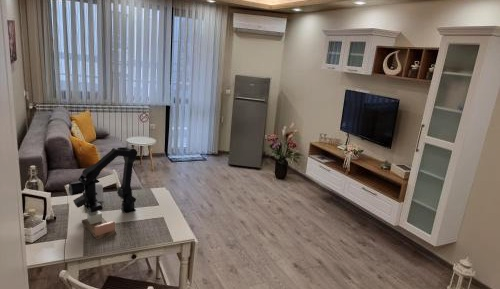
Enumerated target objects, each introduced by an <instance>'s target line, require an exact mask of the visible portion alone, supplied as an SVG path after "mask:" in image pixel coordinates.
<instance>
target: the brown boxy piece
mask: <svg viewBox="0 0 500 289" xmlns="http://www.w3.org/2000/svg"><path fill="white" fill-rule="evenodd" d="M81 223H82V224H83V226H84V227H85V226H86V227H87V228H86V227H85V228H86V229H87V230H88V231H89V233H91V235H93V237H94V238H95V239H96V240H102V239H106V238H107V237H111V236H114V235H117V230H116V222H115V220H111V221H107V220H105V218H103V217H102V222H98V223H95V224H90V223H89V222H88V219H87V218H84V219H82V220H81Z"/></svg>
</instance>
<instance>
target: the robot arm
mask: <svg viewBox="0 0 500 289" xmlns="http://www.w3.org/2000/svg"><path fill="white" fill-rule="evenodd" d="M137 156H138V150H137V149H136V148H134V147H132V146H129V145H127V146H125V147H123V146H120V147H112V149H111V150H110V151H108V152H107V153H106V154H105V155H104V156H103V157H102V158H100V159H99V160H98V161H97V162H95V163H94V164H92V165H89V166H88V167H86V168H84V169H83V170H82V173H81V175H80V176H79V177H78V180H77V181H74V182H73V181H72V182H69V185H68V187H67V188H68V190H67V191H68V193H69V195H70V196H77V195H79V194H82V195H80V196H78V197H76V198H74V199H73V201H72V202H73V204H74V205H75V207H77V208H80V207H81V208H82V207H83V206H84V207H85V208H86V209H87V211H88V212H95V211H102V210H103V205H102V204H101V203H100V202H97V201H98V200H97V199H96V195H97V192H96V183H100V180H99V179H98V177H99V175H100V174H101V172H102V170H103V169H104V168H106V167H107V166H108V165H109V164H110V163H112V162H113V161H114V160H115V159H116V158H118V157H122V158H123V160H124V166H123V174H122V180H121V181H122V183H121V186H117V192H116V193H117V196H118V197H119V198H120V199H121V200H122V201H121V210H122V212H124V213H126V214H127V213H131V212H134V211H136V210H137V209H136V208H135V203H136V201H137V198H136V197H134V196H133V191H132V190H133V189H132V186H131V184H132V176H133V167H134V162H135V161H136V159H137ZM88 212H87V213H88Z"/></svg>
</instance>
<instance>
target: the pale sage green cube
mask: <svg viewBox="0 0 500 289" xmlns="http://www.w3.org/2000/svg"><path fill="white" fill-rule="evenodd" d="M86 216H87V218H86V219H88V222H89V223H90V224H95V223H98V222H102V218H103V214H102V212H101V210H99V211H95V212H87V213H86Z"/></svg>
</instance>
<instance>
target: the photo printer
mask: <svg viewBox="0 0 500 289" xmlns="http://www.w3.org/2000/svg"><path fill="white" fill-rule="evenodd" d="M96 192H97V195H96V199H97V200H98V201H97V203H100V202H101V203H102V202H103V201H104V187H103V184H102V183H100V182H99V183H96Z"/></svg>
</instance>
